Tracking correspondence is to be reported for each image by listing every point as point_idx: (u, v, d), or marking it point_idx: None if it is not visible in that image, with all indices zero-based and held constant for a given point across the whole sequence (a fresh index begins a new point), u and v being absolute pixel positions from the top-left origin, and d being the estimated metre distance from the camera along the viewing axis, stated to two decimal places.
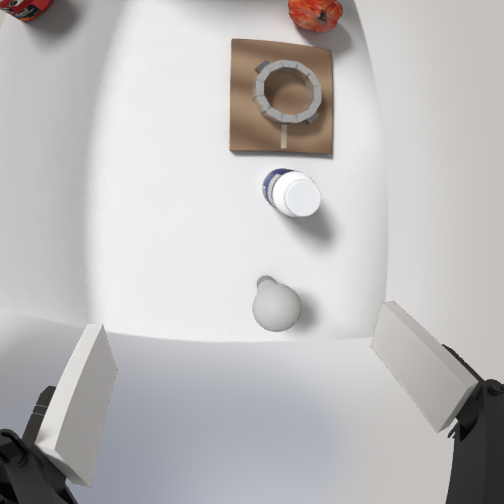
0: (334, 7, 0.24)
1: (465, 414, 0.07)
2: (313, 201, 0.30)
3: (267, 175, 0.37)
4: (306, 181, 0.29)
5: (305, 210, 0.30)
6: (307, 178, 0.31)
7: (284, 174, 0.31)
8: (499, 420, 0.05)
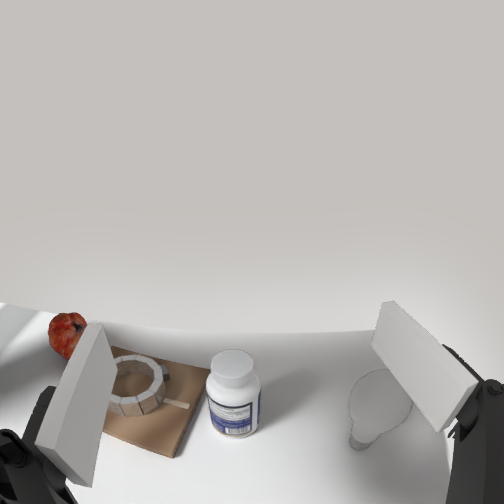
0: (73, 314, 0.35)
1: (465, 414, 0.07)
2: (238, 355, 0.25)
3: (215, 428, 0.26)
4: (213, 358, 0.25)
5: (246, 363, 0.24)
6: None
7: (207, 390, 0.25)
8: (499, 420, 0.05)
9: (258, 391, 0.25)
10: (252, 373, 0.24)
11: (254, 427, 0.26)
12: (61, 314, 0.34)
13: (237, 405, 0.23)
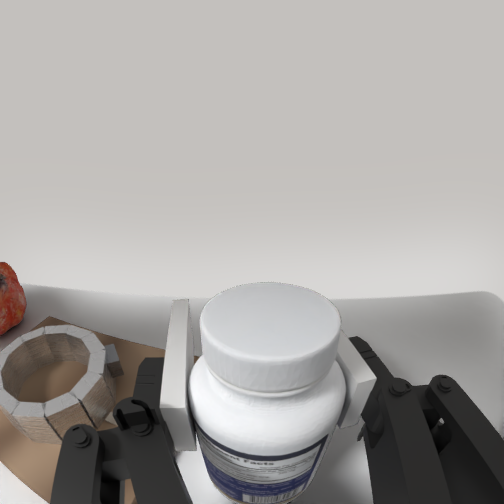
0: None
1: (369, 419, 0.08)
2: (284, 294, 0.09)
3: (216, 487, 0.09)
4: (209, 303, 0.08)
5: (317, 312, 0.08)
6: None
7: (190, 405, 0.08)
8: (412, 425, 0.06)
9: (343, 401, 0.08)
10: (337, 345, 0.07)
11: (310, 481, 0.09)
12: None
13: (288, 452, 0.06)
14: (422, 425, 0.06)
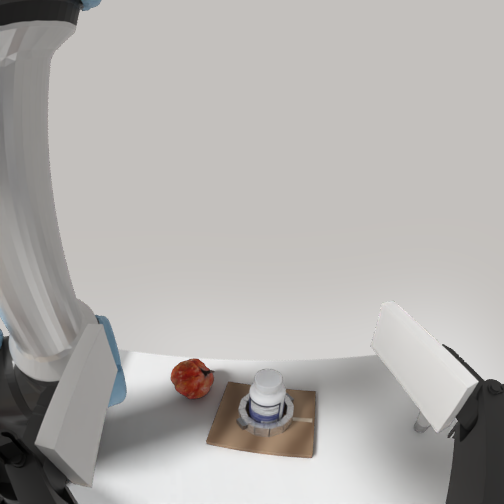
0: (197, 361, 0.46)
1: (465, 414, 0.07)
2: (271, 372, 0.38)
3: None
4: (256, 375, 0.37)
5: (277, 377, 0.37)
6: None
7: (250, 396, 0.37)
8: (499, 420, 0.05)
9: (284, 395, 0.37)
10: (281, 384, 0.36)
11: (279, 420, 0.38)
12: (186, 363, 0.45)
13: (271, 405, 0.36)
14: None
